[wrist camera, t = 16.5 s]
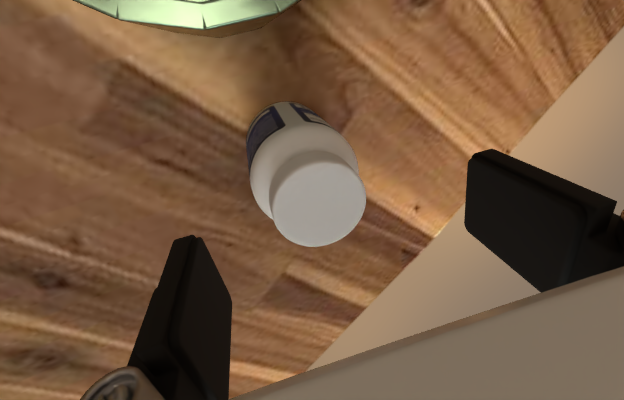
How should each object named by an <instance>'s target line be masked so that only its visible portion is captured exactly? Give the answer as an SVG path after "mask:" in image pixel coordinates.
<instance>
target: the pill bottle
mask: <svg viewBox="0 0 624 400" xmlns="http://www.w3.org/2000/svg"><path fill="white" fill-rule="evenodd" d="M246 149H247V157H248V166H249V175H250V183H251V188H252V192H253V195H254V198H255V200H256V202H257V204H258V205H259V207H260V208H261V209H262V211H263V212H264V213H265V214H266V215H267V216H269V217H270V218H271V219H273V220H274V223H275V225H276V227H277V229H278V230H279V231H280V232H281V234H282V235H283V236H284V237H286V238H287V239H288V240H290V241H292V242H294V243H296V244H299V245H303V246H308V247H318V246H324V245H328V244H331V243H334V242H336V241H338V240H340V239H342V238H343V237H344V236H346V235H347V234H348V233H350V232H351V231H352V230H353V229H354V227H355V226H356V225H357V224H358V222H359V221H360V219H361V217H362V215H363V212H364V209H365V205H366V192H365V187H364V184H363V182H362V180H361V178H360V177H359V170H358V162H357V159H356V156H355V153H354V151H353V149H352V147H351V146H350V144H349V143H348V142H347V141H346V139H345V138H344V137H343V136H342V135H341V134H340V133H339V132H337V131H336V130H335V129H334V128H333V127H331V126H330V125H329V124H328V123H327V122H326V121H324V120H323V119H322V118H321V117H320V116H318V115H317V114H316V113H315V112H314V111H312V110H311V109H309V108H308V107H306V106H304V105H302V104H299V103H295V102H278V103H275V104H272V105H270V106H268V107H266V108H264V109H263V110H261V111H260V112H259V113H258V114H257V115H256V116H255V117H254V119H253V120H252V122H251V124H250V126H249V129H248V132H247V138H246Z"/></svg>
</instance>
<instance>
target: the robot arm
mask: <svg viewBox="0 0 624 400" xmlns="http://www.w3.org/2000/svg"><path fill="white" fill-rule="evenodd" d="M616 203H617V201H615V200H612V199H610V198H608V197H605V196H603V195H601V194H598V193H596V192H593V191H591V190H589V189H586V188H584V187H582V186H579V185H577V184H575V183H572V182H570V181H568V180H565V179H563V178H560V177H558V176H556V175H553V174H551V173H549V172H546V171H544V170H542V169H539V168H537V167H535V166H532V165H530V164H527V163H525V162H523V161H520V160H518V159H515V158H513V157H511V156H509V155H506V154H504V153H501V152H499V151H497V150H494V149H489V150H485V151H482V152H478V153H475V154H474V155H473V156H472V158H471V159H470V160H469V162H468V171H467V187H466V204H465V222H464V223H465V227H466V229H467V231H468V232H469V233H470V234H472V235H473V236H474V237H475V238H476V239H478V240H479V241H480V242H481V243H482V244H484V245H485V246H486V247H487V248H488V249H489V250H491V251H492V252H493V253H494V254H495V255H497V256H498V257H499V258H500V259H502V260H503V261H504V262H505V263H506V264H508V265H509V266H510V267H511V268H512V269H513V270H515V271H516V272H517V273H518V274H519V275H521V276H522V277H523V278H524V279H525V280H527V281H528V282H529V283H531V285H533V286H534V287H535V288H536V289H537V290H539V291H540V292H541V293H539V294H536V295H533V296H530V297H527V298H524V299H521V300H518V301H515V302H512V303H509V304H506V305H502V306H500V307H496V308H494V309H491V310H488V311H484V312H482V313H478V314H476V315H472V316H469V317H467V318H463V319H460V320H458V321H454V322H452V323H448V324H445V325H443V326H440V327H437V328H434V329H431V330H428V331H425V332H422V333H419V334H416V335H413V336H410V337H407V338H404V339H401V340H398V341H395V342H392V343H389V344H386V345H383V346H380V347H377V348H374V349H371V350H368V351H365V352H362V353H360V354H357V355H354V356H351V357H348V358H345V359H342V360H339V361H336V362H333V363H330V364H328V365H325V366H321V367H318V368H315V369H313V370H310V371H307V372H304V373H301V374H298V375H295V376H292V377H289V378H287V379H284V380H281V381H278V382H276V383H273V384H270V385H267V386H264V387H262V388H259V389H256V390H253V391H251V392H248V393H245V394H242V395H239V396H237V397H234V398H231V399H229V400H624V210H623V211H622V213H621V215H620V216H618V215H616V214H614V213H613V212H614V209H615V206H616ZM231 319H232V301H231V297H230V294H229V292H228V290H227V288H226V286H225V284H224V282H223V280H222V278H221V276H220V274H219V272H218V270H217V268H216V266H215V263H214V261H213V259H212V257H211V255H210V253H209V251H208V249H207V247H206V245H205V243H204V241H203V239H202V238H201V237H199V238H196V237H195V236H194V235H190V236H186V237H183V238H179V239H176V240H174V242H173V244H172V247H171V250H170V253H169V256H168V259H167V261H166V264H165V267H164V270H163V273H162V276H161V279H160V282H159V285H158V287H157V288H156V289H155V291H154V292H153V295H152V298H151V300H150V303H149V306H148V309H147V312H146V315H145V317H144V320H143V323H142V326H141V329H140V331H139V334H138V337H137V340H136V343H135V345H134V348H133V351H132V354H131V357H130V359H129V362H128V365H127V366H126V367H122V368H118V369H116V370H114V371H112V372H110V373H108V374H106V375H105V376H103V377H102V378H100V379H99V380H98V381H96V382H95V383H94V384H93V385H92V386H91V387H90V388H89V389H88V390H87V391H86V392H85V394H84V395H83V396H82V397H81V399H80V400H228V396H229V371H230V345H231Z"/></svg>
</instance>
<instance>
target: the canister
mask: <svg viewBox="0 0 624 400" xmlns="http://www.w3.org/2000/svg"><path fill="white" fill-rule="evenodd" d="M73 1H76V2H78V3H80V4H83V5H85V6H87V7H89V8H92V9H94V10H96V11H99V12H101V13H103V14H106V15H108V16H110V17H113V18H115V19H119V20H121V21H126V22H130V23H135V24H139V25H143V26H148V27H152V28H157V29H161V30H166V31H170V32H175V33H181V34H190V35H198V36H207V37H215V38H220V37H221V38H223V37H227V36H231V35H235V34H241V33H244V32H248V31H252V30H256V29H259V28H262V27H263V26H265V25H266V24H268V23H269V22H271V21H272V20H274V19H275V18H277V17H278V16H279V15H281V14H282V13H284V12H285V11H287V10H288V9H290V8H291V7H293V6H294V5H296V4H297V3H298V2H300V1H301V0H73Z"/></svg>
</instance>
